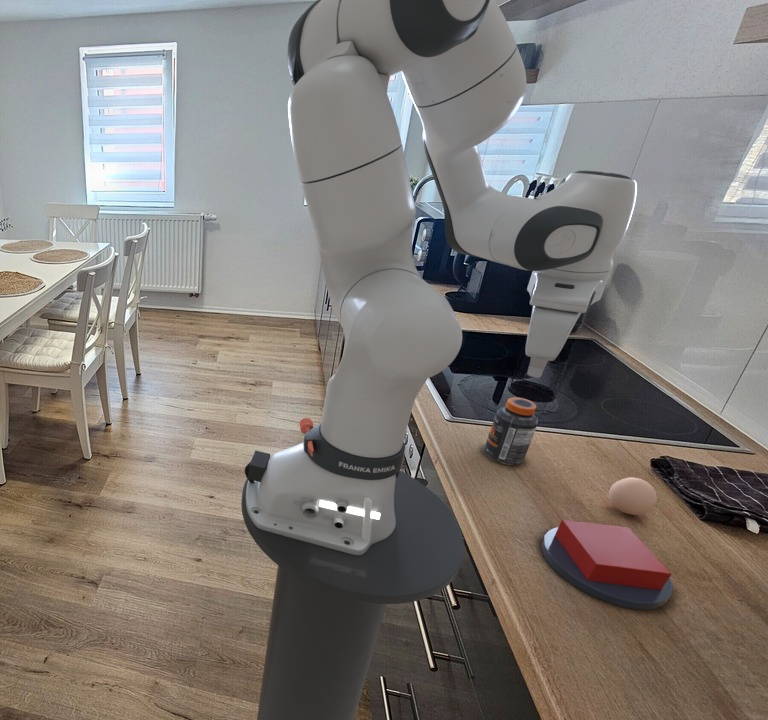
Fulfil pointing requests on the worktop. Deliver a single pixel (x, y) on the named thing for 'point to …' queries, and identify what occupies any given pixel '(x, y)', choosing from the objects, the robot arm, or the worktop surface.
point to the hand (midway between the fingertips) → (538, 364)
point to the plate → (603, 591)
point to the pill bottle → (512, 432)
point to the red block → (612, 555)
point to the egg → (633, 496)
